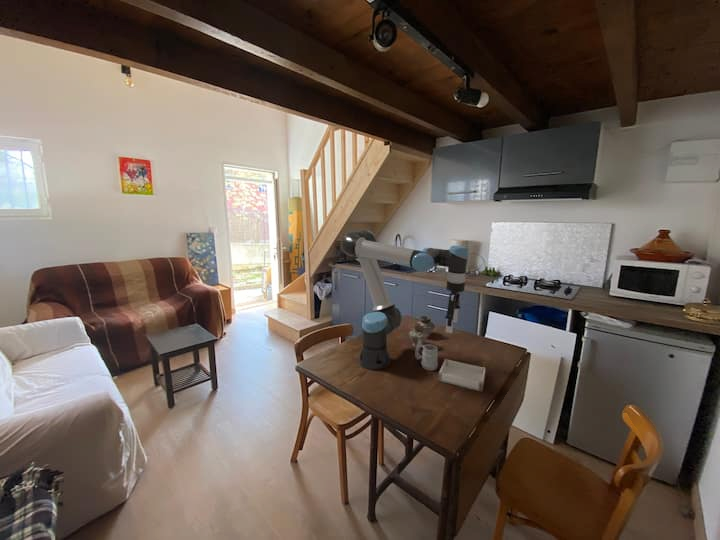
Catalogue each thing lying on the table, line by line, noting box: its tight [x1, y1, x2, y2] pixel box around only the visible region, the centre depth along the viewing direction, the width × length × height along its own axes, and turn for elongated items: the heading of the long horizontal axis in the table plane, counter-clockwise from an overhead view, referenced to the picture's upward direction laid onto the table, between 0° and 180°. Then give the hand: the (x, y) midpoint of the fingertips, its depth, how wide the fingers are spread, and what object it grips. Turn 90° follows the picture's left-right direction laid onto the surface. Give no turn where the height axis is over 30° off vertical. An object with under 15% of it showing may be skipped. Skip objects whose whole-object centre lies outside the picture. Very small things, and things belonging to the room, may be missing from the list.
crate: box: [437, 358, 486, 393], centre depth 128 cm, size 18×14×4 cm
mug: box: [414, 339, 439, 371], centre depth 138 cm, size 8×12×12 cm, turn 48°
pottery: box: [408, 315, 436, 348], centre depth 165 cm, size 11×25×12 cm, turn 154°
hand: (451, 327), depth 132 cm, fingers open, 13 cm apart
